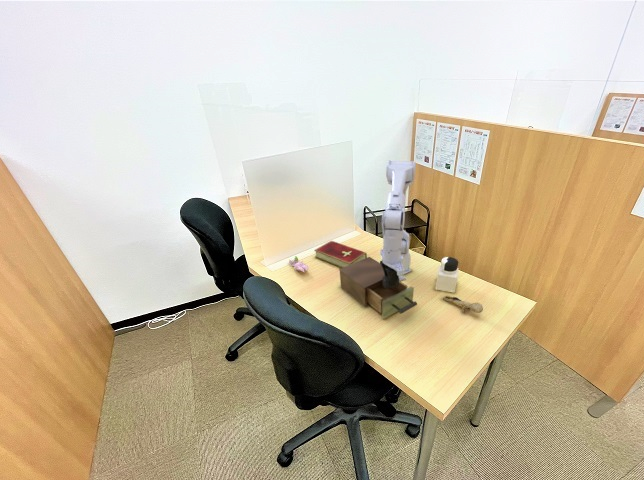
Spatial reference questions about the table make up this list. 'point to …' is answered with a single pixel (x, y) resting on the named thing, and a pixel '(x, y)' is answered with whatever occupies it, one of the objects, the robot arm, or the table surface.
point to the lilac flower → (298, 265)
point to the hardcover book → (339, 254)
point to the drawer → (390, 299)
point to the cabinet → (361, 278)
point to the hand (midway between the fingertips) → (390, 282)
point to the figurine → (465, 304)
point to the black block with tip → (387, 285)
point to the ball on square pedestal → (447, 275)
